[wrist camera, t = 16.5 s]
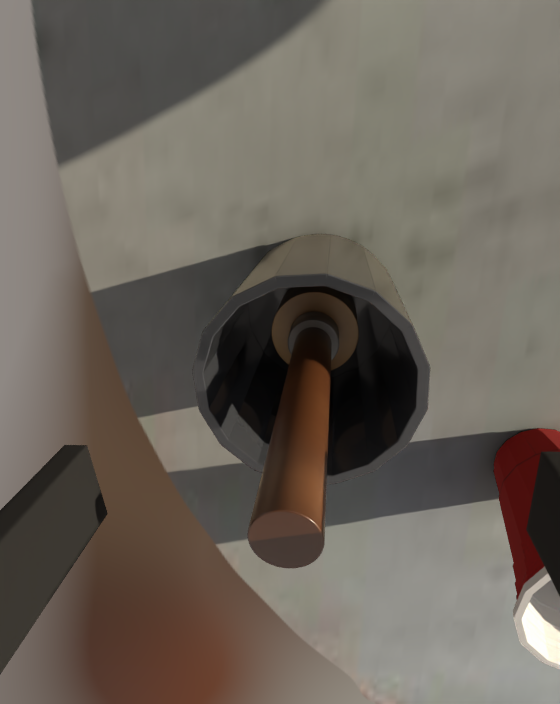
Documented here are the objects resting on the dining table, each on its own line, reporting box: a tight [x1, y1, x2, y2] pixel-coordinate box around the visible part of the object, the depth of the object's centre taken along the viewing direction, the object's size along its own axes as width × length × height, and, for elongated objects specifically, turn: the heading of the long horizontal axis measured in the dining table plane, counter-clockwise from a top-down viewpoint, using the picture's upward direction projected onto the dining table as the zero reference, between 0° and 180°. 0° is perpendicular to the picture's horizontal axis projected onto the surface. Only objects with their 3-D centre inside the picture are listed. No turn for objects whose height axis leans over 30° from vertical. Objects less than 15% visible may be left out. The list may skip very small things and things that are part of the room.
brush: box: [248, 286, 359, 568], centre depth 20 cm, size 5×5×18 cm
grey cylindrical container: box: [193, 234, 430, 484], centre depth 24 cm, size 10×10×11 cm
